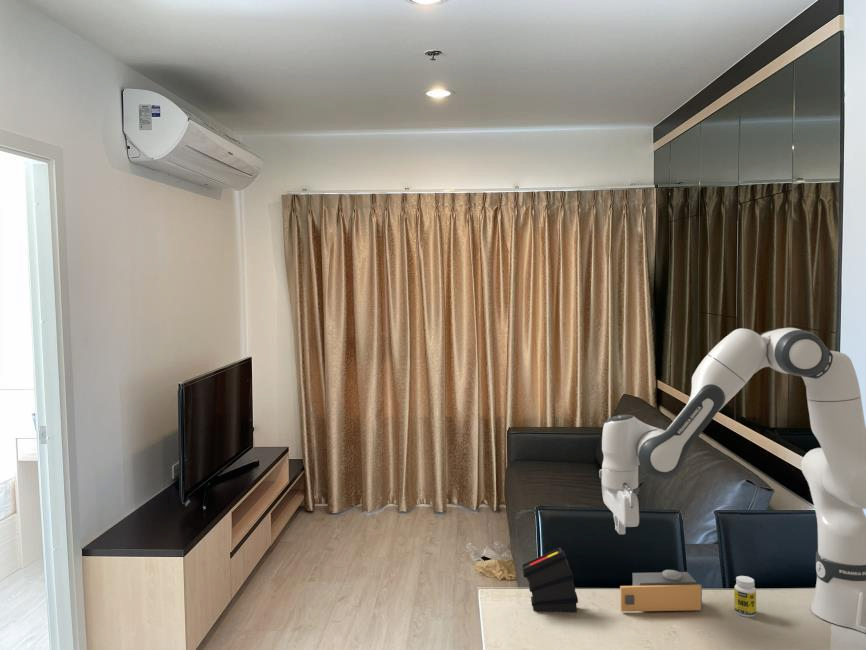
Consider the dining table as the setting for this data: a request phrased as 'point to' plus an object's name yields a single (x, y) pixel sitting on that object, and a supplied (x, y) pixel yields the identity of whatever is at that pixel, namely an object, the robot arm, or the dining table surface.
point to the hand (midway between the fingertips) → (620, 532)
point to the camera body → (663, 578)
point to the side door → (660, 598)
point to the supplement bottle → (745, 596)
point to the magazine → (551, 583)
